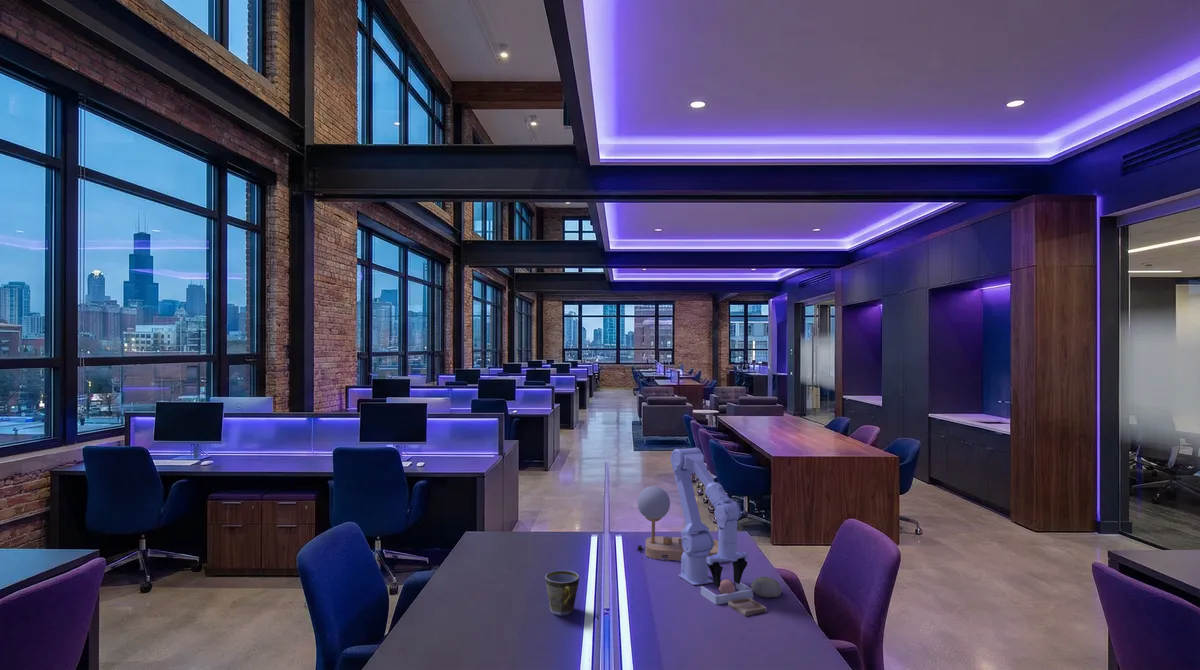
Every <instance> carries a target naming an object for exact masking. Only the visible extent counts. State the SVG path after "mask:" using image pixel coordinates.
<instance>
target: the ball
mask: <svg viewBox="0 0 1200 670" xmlns="http://www.w3.org/2000/svg"><path fill="white" fill-rule="evenodd" d="M718 590H719V593H720V595H722V594H727V593H733V592H736V591H735V590H736V585H735V584H734V581H732V580H730V579H723V580H721V583H720V587H718Z"/></svg>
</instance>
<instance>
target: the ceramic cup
mask: <svg viewBox="0 0 1200 670" xmlns="http://www.w3.org/2000/svg"><path fill="white" fill-rule="evenodd" d="M544 577H545V585H546V586H545V587H546V591H547V597H548V606H549V610H550V611H551V613H552V614H553V615H555V616H568V615H570V614H571V613H573V611H574V607H575V602H576V598H577V593H578V589H579V582H580V575H579V574H578V573H577V572H576V571H572V570H567V569H565V570H564V569H559V570H553V571H549V572H548V573H546V574H545V576H544Z"/></svg>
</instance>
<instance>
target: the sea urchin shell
mask: <svg viewBox="0 0 1200 670" xmlns="http://www.w3.org/2000/svg"><path fill="white" fill-rule="evenodd" d="M750 588H752V589H753V590H754V594H756V595H757V596H758V597H760V598H768V599H769V597H770V598H771V597H773V598H777V597H779V596H780V595H781V594H782V591H783V590H782V585H781V584H780V582H779V581H777V580H776V579H775V578H773V577H768V576H759V577H756V578H755V579H753V581H752V582H751V584H750Z"/></svg>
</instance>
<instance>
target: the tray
mask: <svg viewBox="0 0 1200 670" xmlns="http://www.w3.org/2000/svg"><path fill="white" fill-rule="evenodd" d="M727 607H730V608H732V609H733V610H735V611H736V612H737V613H739V614H741V615H742V616H744V617H748V616H752V615H757V614H762V613H763V614H764V613H767V607H766V606H765V605H763V604H761V603H760V602H757V601H756V600H754V598H744V599H738V600H733V601H728V603H727Z"/></svg>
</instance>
